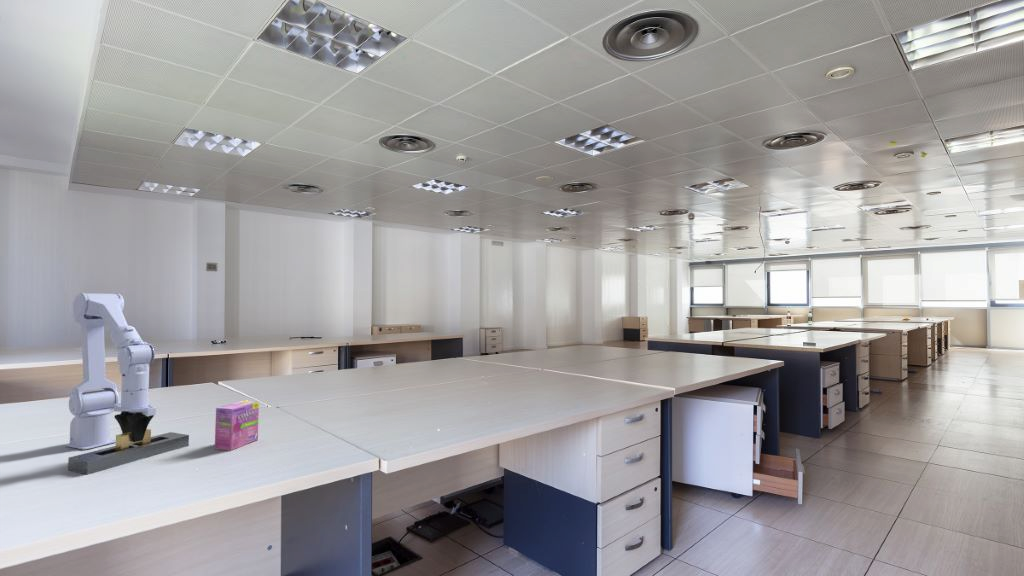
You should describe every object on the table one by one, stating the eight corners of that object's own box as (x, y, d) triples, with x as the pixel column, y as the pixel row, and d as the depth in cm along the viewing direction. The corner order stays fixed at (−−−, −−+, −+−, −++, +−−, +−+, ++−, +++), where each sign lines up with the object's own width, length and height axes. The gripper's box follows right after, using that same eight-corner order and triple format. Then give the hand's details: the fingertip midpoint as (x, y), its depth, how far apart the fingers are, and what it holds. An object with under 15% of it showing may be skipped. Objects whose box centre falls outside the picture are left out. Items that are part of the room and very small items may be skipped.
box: (231, 451, 128) (232, 408, 129) (214, 449, 129) (215, 407, 130) (258, 440, 138) (259, 400, 139) (242, 438, 140) (243, 399, 140)
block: (68, 469, 113) (68, 457, 113) (170, 442, 136) (170, 432, 136) (87, 474, 110) (87, 461, 110) (188, 445, 133) (188, 435, 133)
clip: (114, 458, 120) (115, 435, 120) (144, 450, 127) (145, 428, 127) (120, 459, 119) (121, 436, 119) (150, 451, 126) (150, 429, 126)
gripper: (101, 390, 122) (99, 441, 122) (135, 394, 117) (133, 447, 117) (131, 385, 129) (129, 434, 129) (164, 389, 124) (163, 440, 123)
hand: (133, 440), depth 123 cm, fingers open, 3 cm apart
